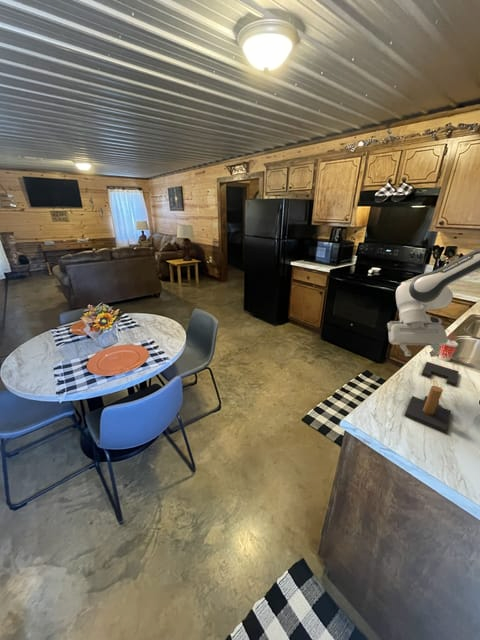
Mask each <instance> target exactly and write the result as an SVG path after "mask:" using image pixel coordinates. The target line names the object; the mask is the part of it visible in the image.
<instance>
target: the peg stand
mask: <svg viewBox="0 0 480 640" xmlns="http://www.w3.org/2000/svg"><path fill="white" fill-rule="evenodd" d="M443 391H444V390H443V389H442V388H441V387H439V386H437V385H431V386H430V388H429V392H428V395H425V396H424V399H422V398H419V397H417V396H414V395H411V398H410V400H409V403H408V405H407V408H406V410H405V413H404V417H407V418H409V419H412V420H413V421H416V422H418V423H420V424H423V425H425V426H428V427H429V428H432V429H434V430H437V431H438V432H440V433H444V434H446V433H447V431H448V428H449V424H450V423H449V422H450V418H451V414H452V413H451V412H452V411H451V410H450V409H449V408H445V407H443V406H440V405H439V404H440V399H441V396H442V393H443Z"/></svg>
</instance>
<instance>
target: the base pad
mask: <svg viewBox="0 0 480 640" xmlns="http://www.w3.org/2000/svg"><path fill="white" fill-rule="evenodd" d="M431 375H433V376H436V377H439V378H442V379H445V380H446V382H445V383H446V385H450V386H452V387H456V386H457V381H458V376H459V370H456V369H453V368H449V367H446V366H443V365H440V364H439V365H438V364H436V363H433V362H429V361H426V362H425V365H424V367H423V369H422V371H421V376H423V377H426V378H429V379H430V378H431V377H430V376H431Z"/></svg>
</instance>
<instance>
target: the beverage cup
mask: <svg viewBox="0 0 480 640" xmlns="http://www.w3.org/2000/svg"><path fill="white" fill-rule="evenodd" d="M454 336H455V332H452V334H451V338H450V339H448V342H447V343H446V344H444V345H442V346H440V351H439V354H438V358H439V359H440V360H442V361H446V362H451V359H452V357H453V356H454V353H455V351H456V350H457V347H458V346H459V343H458V342H456V341H455V340H453V338H454Z"/></svg>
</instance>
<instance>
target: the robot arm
mask: <svg viewBox="0 0 480 640" xmlns="http://www.w3.org/2000/svg"><path fill="white" fill-rule="evenodd" d="M477 272H480V247H479V248H477V249H475V250H472V251H470V252H468V253H466V254H464V255H462V256H460V257H459V258H457V259H455V260H453V261H451V262H448V263H446V264H445V265H443V266H441V267H439V268H437V269H434V270H431V271H429V272H425V273H422V274H419V275H417V276H416V277H415V278H414V279H413V280H412V281H407V282H404V283H401V284H400V285H399V286H397V288H396V290H395V302H396V307H397V310H398V312H399V313H398V319H399V320H396V321H395V320H390V321H389V322H387V324H386V327H387V331H388V342H389V343H390V344H391V345H399V348H400V349H401V350H402V351H403V352H404V356H405V357H411V356H412V350H409V349H408V348H407V346H430V348H431V350H432V351H430V352H429V355H430V357H432V358H436V357H439V354H438V350H439V348H440V347H442V345H444V344H446V343H447V342H448V340H449V338H448V334H447V331H446V329H445V327H444V326H443V325H441V324H442V321H443V320H442V319H441V318H439V317H436V316H433V315H430V314H427V311H436V310H437V311H438V310H442V309H445V308H447V307H448V306H449V305H450V304H451V303H452V301H453V299H454V294H453V292H452V290H451V289H450V288H449V287H448V286H449V285H451V284H453V283H455V282H457V281H459V280H462V279H463V278H465V277H468V276H470V275H471V274H473V273H477Z"/></svg>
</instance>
